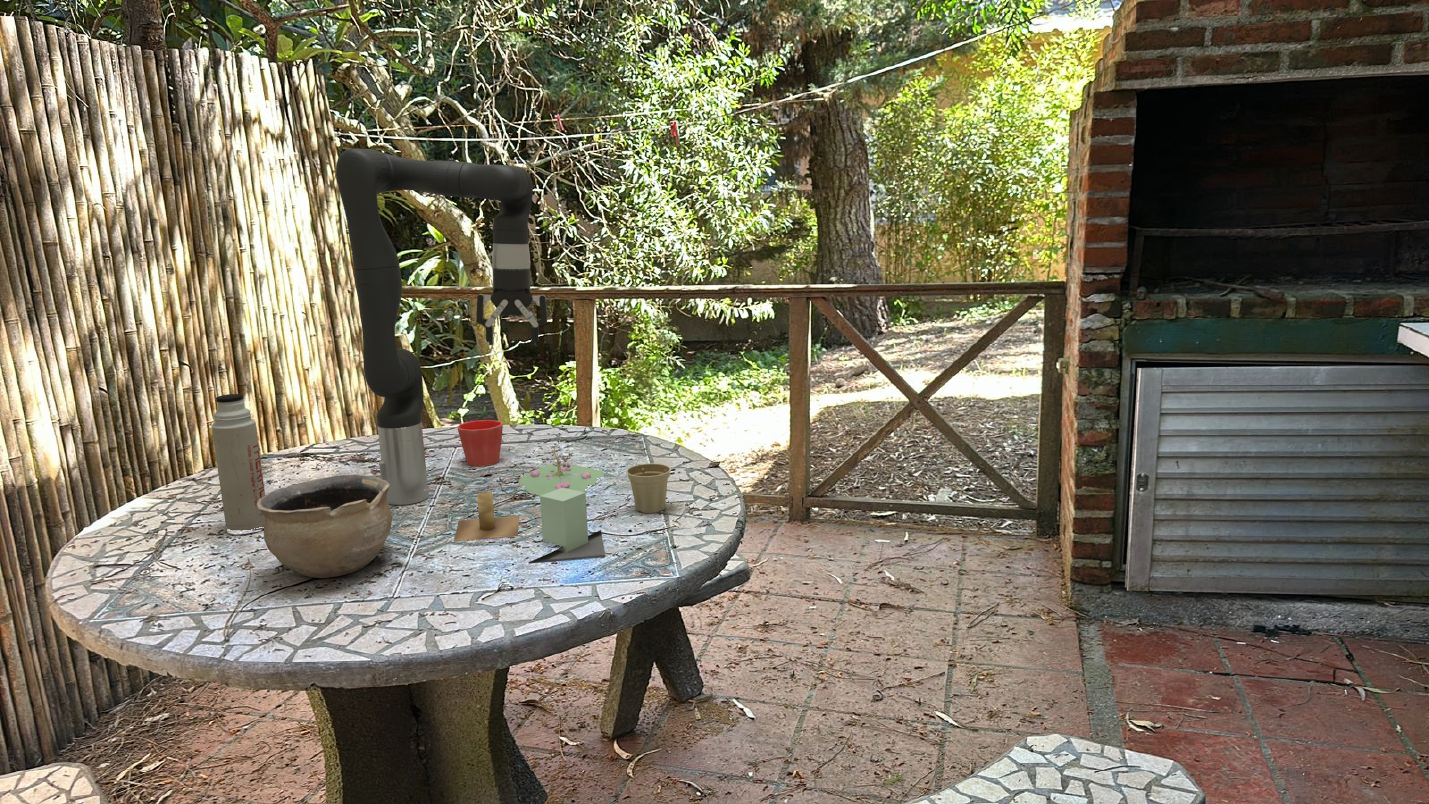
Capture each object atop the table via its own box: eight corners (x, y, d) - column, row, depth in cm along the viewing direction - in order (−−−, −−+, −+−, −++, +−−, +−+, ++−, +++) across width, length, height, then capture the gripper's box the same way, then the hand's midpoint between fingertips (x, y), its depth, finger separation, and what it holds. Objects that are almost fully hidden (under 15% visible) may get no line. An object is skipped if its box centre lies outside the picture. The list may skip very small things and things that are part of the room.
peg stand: (454, 548, 187) (450, 506, 185) (459, 527, 199) (455, 487, 197) (518, 543, 189) (515, 501, 187) (519, 522, 201) (516, 482, 199)
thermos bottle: (277, 522, 204) (260, 391, 198) (252, 536, 197) (233, 400, 191) (243, 521, 206) (225, 390, 200) (217, 534, 198) (198, 399, 192)
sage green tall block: (566, 552, 182) (563, 501, 180) (543, 546, 186) (539, 496, 184) (588, 542, 187) (585, 492, 185) (565, 536, 191) (562, 487, 188)
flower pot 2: (638, 519, 201) (636, 478, 199) (620, 506, 209) (619, 467, 207) (679, 511, 205) (678, 471, 203) (661, 499, 213) (659, 460, 211)
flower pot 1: (470, 456, 251) (467, 419, 249) (511, 456, 249) (508, 419, 247) (453, 468, 241) (450, 429, 239) (496, 468, 239) (493, 430, 237)
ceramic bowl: (319, 603, 164) (308, 518, 161) (241, 578, 175) (230, 498, 172) (422, 559, 182) (414, 481, 179) (345, 539, 194) (337, 466, 190)
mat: (528, 563, 179) (528, 561, 179) (529, 537, 192) (528, 535, 192) (605, 556, 181) (605, 554, 181) (600, 530, 194) (600, 529, 194)
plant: (610, 498, 216) (608, 458, 214) (515, 506, 213) (511, 466, 211) (601, 466, 240) (599, 431, 238) (515, 473, 237) (512, 437, 235)
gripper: (473, 266, 196) (475, 347, 199) (546, 267, 197) (546, 347, 201) (477, 264, 203) (479, 342, 206) (547, 265, 205) (547, 342, 208)
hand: (512, 344), depth 203 cm, fingers open, 8 cm apart
